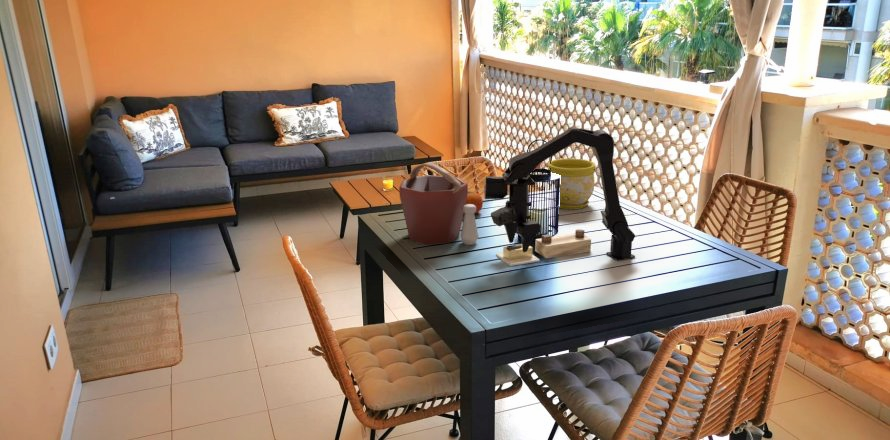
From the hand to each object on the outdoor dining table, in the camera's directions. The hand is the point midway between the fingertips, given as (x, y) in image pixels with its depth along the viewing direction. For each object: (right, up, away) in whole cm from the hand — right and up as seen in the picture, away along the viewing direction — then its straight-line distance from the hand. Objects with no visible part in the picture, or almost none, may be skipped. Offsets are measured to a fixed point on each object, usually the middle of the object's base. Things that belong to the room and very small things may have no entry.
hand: (517, 247), depth 214 cm
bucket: (-27, +3, +22) cm, 35 cm away
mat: (0, -3, +1) cm, 4 cm away
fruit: (-13, +11, +47) cm, 50 cm away
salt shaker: (-14, +1, +15) cm, 21 cm away
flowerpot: (+26, +14, +56) cm, 63 cm away
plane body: (+15, -1, +7) cm, 16 cm away
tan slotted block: (0, -3, +1) cm, 3 cm away
